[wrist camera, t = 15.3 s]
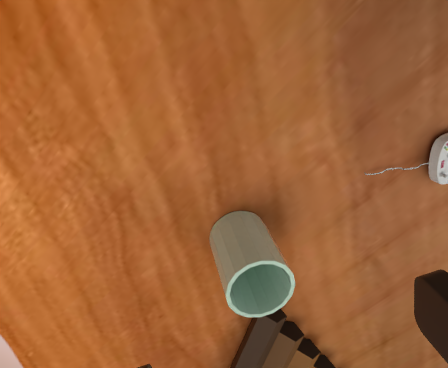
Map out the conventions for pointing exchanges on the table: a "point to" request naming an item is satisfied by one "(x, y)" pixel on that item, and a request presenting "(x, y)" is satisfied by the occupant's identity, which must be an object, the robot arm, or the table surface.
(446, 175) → the game controller
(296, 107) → the table surface
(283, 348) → the pan flute
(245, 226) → the cup
